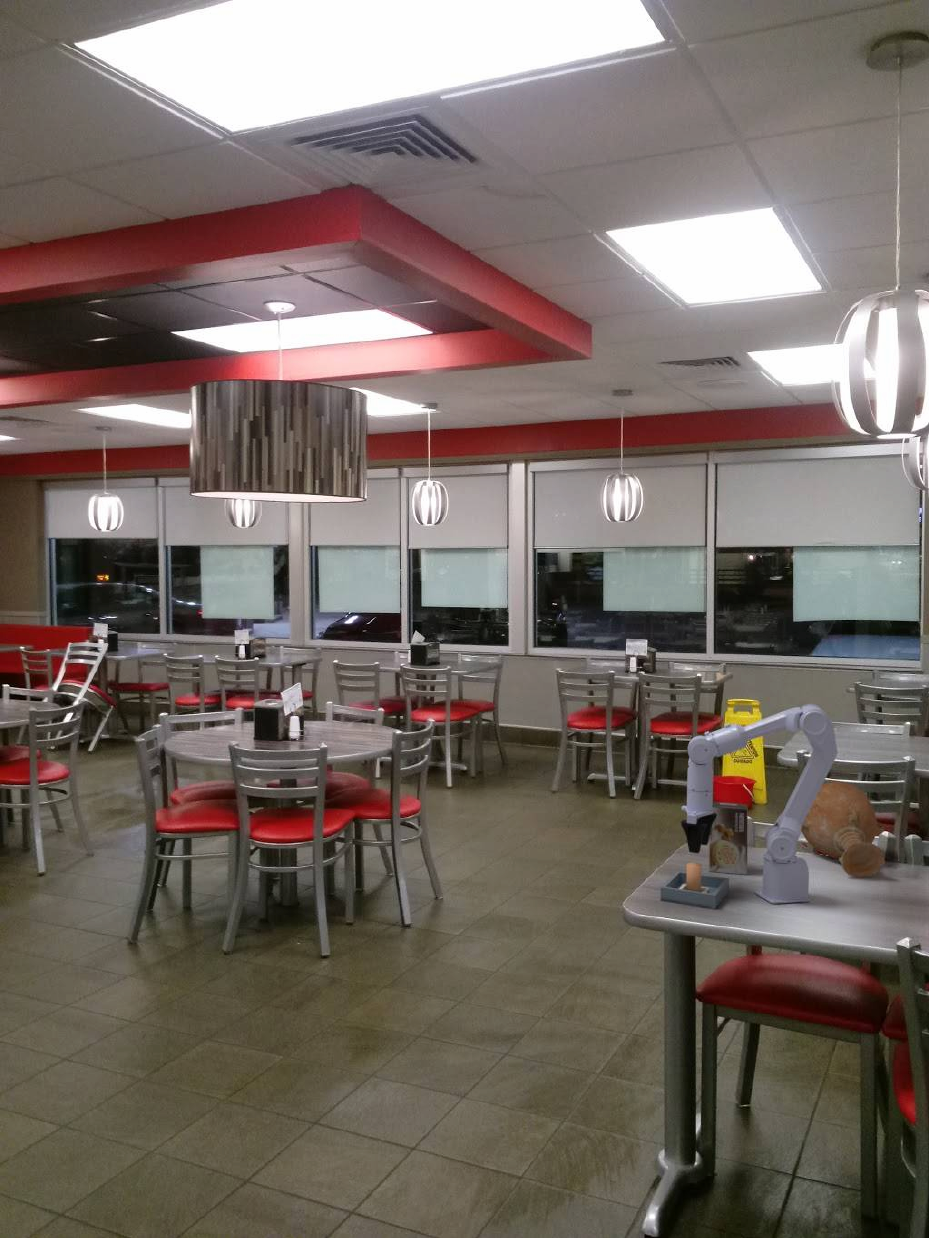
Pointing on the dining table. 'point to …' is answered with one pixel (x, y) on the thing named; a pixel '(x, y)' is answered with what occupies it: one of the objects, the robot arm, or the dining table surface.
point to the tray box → (707, 898)
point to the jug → (845, 828)
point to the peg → (693, 877)
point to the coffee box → (729, 838)
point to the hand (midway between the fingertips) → (698, 848)
